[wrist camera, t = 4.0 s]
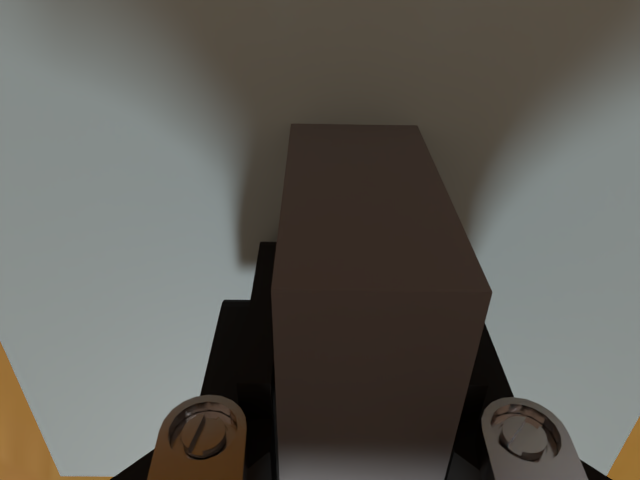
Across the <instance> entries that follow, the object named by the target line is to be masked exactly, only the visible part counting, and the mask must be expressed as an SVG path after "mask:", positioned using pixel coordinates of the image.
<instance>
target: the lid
mask: <svg viewBox="0 0 640 480" xmlns="http://www.w3.org/2000/svg"><path fill="white" fill-rule="evenodd" d="M260 242H277V244H276V252H275V261H274V269H273V278H272V286H271V301H272V323H273V345H274V368H275V390H276V412H277V434H278V457H279V479H280V480H444V478H445V475H446V471H447V467H448V463H449V459H450V455H451V451H452V448H453V444H454V440H455V436H456V432H457V428H458V424H459V420H460V417H461V413H462V409H463V405H464V401H465V397H466V393H467V389H468V386H469V382H470V378H471V374H472V370H473V366H474V362H475V358H476V355H477V351H478V347H479V343H480V339H481V335H482V331H483V328H484V324H485V325H486V327H487V330H488V332H489V335H490V337H491V340H492V342H493V345H494V347H495V350H496V352H497V355H498V357H499V360H500V363H501V365H502V368H503V370H504V373H505V375H506V378H507V380H508V383H509V385H510V388H511V390H512V393H513V395H514V397H517V398H523V399H528V400H530V401H533V402H535V403H538V404H540V405H542V406H543V407H545V408H546V409H548V410H549V411H551V412H552V413H553V414H554V415H555V416H556V417H557V418H558V419H559V420H560V421H561V422H562V423H563V425H564V426H565V428H566V429H567V431H568V433H569V435H570V437H571V440H572V442H573V444H574V447H575V449H576V451H577V454H578V456H579V459H581V460H582V461H584V462H585V463H587V464H588V465H590V466H591V467H593V468H595V469H596V470H598V471H599V472H601V473H602V474H604V475H605V476H607V474H608V472H609V470H610V468H611V467H612V465H613V463H614V461H615V459H616V458H617V456H618V454H619V452H620V450H621V449H622V447H623V445H624V443H625V441H626V439H627V438H628V436H629V434H630V432H631V430H632V429H633V427H634V425H635V423H636V421H637V420H638V418H639V416H640V0H0V341H1V343H2V346H3V348H4V350H5V352H6V355H7V357H8V359H9V361H10V364H11V366H12V368H13V370H14V373H15V375H16V377H17V379H18V381H19V384H20V386H21V388H22V390H23V393H24V395H25V397H26V399H27V402H28V404H29V406H30V408H31V411H32V413H33V415H34V417H35V420H36V422H37V424H38V426H39V429H40V431H41V433H42V435H43V438H44V440H45V442H46V444H47V447H48V449H49V451H50V453H51V456H52V458H53V460H54V462H55V465H56V467H57V469H58V471H59V474H60V476H116V475H117V474H119V473H120V472H122V471H123V470H125V469H126V468H127V467H129V466H130V465H132V464H133V463H135V462H136V461H137V460H139V459H140V458H142V457H143V456H145V455H146V454H147V453H149V452H150V451H152V450H153V449H155V445H156V441H157V437H158V433H159V430H160V427H161V425H162V423H163V420H164V419H165V418H166V416H167V415H168V414H169V413H170V412H171V410H172V409H174V408H175V407H176V406H178V405H179V404H181V403H182V402H184V401H186V400H188V399H191V398H193V397H196V396H200V393H201V389H202V385H203V381H204V376H205V372H206V368H207V364H208V359H209V355H210V351H211V347H212V342H213V338H214V334H215V330H216V326H217V321H218V317H219V313H220V309H221V305H222V302H223V300H250V299H251V293H252V287H253V281H254V275H255V269H256V263H257V257H258V251H259V245H260Z"/></svg>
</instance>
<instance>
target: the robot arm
mask: <svg viewBox="0 0 640 480" xmlns="http://www.w3.org/2000/svg"><path fill="white" fill-rule="evenodd" d="M276 244H277V242H260V245H259V251H258V257H257V263H256V269H255V275H254V281H253V287H252V293H251V299H250V300H223V302H222V305H221V309H220V313H219V317H218V321H217V326H216V330H215V334H214V338H213V342H212V347H211V351H210V355H209V359H208V364H207V368H206V372H205V376H204V381H203V385H202V389H201V393H200V396H196V397H193V398H191V399H188V400H186V401H184V402H182V403H181V404H179V405H178V406H176V407H175V408H174V409H172V410H171V412H170V413H169V414H168V415H167V416H166V418H165V419H164V420H163V423H162V425H161V427H160V430H159V433H158V437H157V441H156V445H155V449H153V450H152V451H150V452H149V453H147V454H146V455H145V456H143V457H142V458H140V459H139V460H137V461H136V462H135V463H133V464H132V465H130V466H129V467H127V468H126V469H125V470H123V471H122V472H120V473H119V474H117V475H116V476H114V477H113V478H112V479H110V480H280V479H279V457H278V434H277V412H276V390H275V368H274V345H273V323H272V301H271V286H272V278H273V269H274V261H275V252H276ZM444 480H612V479H610V478H608V477H607V476H605V475H604V474H602V473H601V472H599V471H598V470H596V469H595V468H593V467H591V466H590V465H588V464H587V463H585V462H584V461H582V460H581V459H579V456H578V454H577V451H576V449H575V447H574V444H573V442H572V440H571V437H570V435H569V433H568V431H567V429H566V428H565V426H564V425H563V423H562V422H561V421H560V420H559V419H558V418H557V417H556V416H555V415H554V414H553V413H552V412H551V411H549V410H548V409H546V408H545V407H543V406H542V405H540V404H538V403H535V402H533V401H530V400H528V399H523V398H517V397H514V395H513V393H512V390H511V388H510V385H509V383H508V380H507V378H506V375H505V373H504V370H503V368H502V365H501V363H500V360H499V357H498V355H497V352H496V350H495V347H494V345H493V342H492V340H491V337H490V335H489V332H488V330H487V327H486V325H485V324H484V328H483V331H482V335H481V339H480V343H479V347H478V351H477V355H476V358H475V362H474V366H473V370H472V374H471V378H470V382H469V386H468V389H467V393H466V397H465V401H464V405H463V409H462V413H461V417H460V420H459V424H458V428H457V432H456V436H455V440H454V444H453V448H452V451H451V455H450V459H449V463H448V467H447V471H446V475H445V478H444Z"/></svg>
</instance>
